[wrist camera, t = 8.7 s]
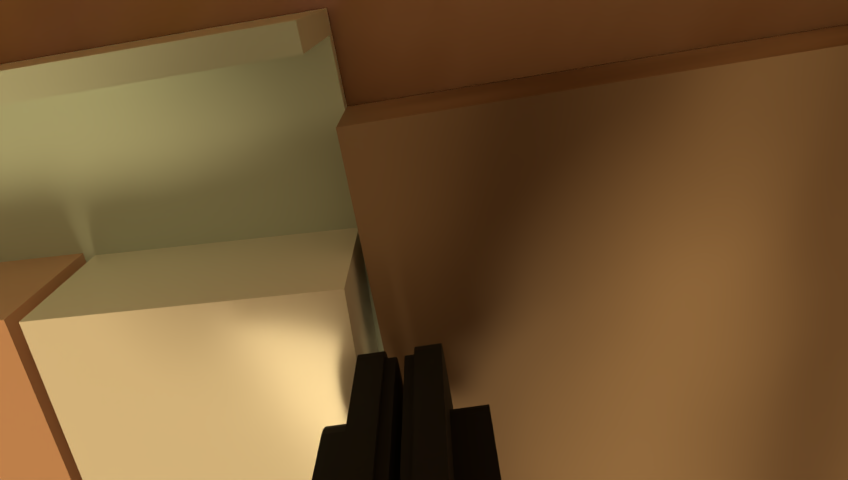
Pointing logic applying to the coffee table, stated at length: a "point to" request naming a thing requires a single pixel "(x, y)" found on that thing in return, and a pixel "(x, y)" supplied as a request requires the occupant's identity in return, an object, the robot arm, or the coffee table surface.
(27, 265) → the terracotta tile
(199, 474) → the cream tile
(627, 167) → the walnut board
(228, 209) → the tray
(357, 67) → the coffee table surface
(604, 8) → the coffee table surface
